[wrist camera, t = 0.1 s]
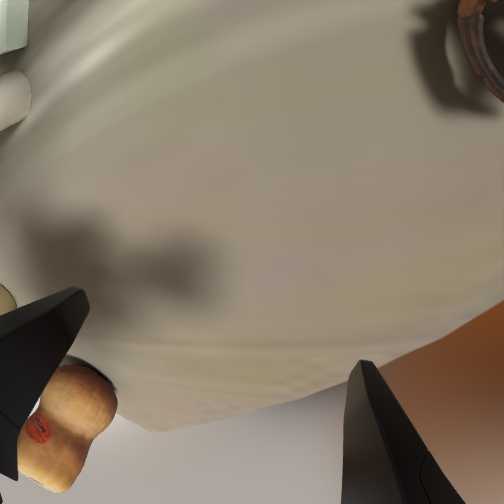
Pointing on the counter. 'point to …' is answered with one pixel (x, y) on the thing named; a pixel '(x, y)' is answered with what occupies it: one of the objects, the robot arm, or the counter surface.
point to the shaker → (14, 98)
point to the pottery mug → (478, 44)
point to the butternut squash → (65, 426)
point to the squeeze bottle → (6, 301)
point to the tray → (13, 25)
